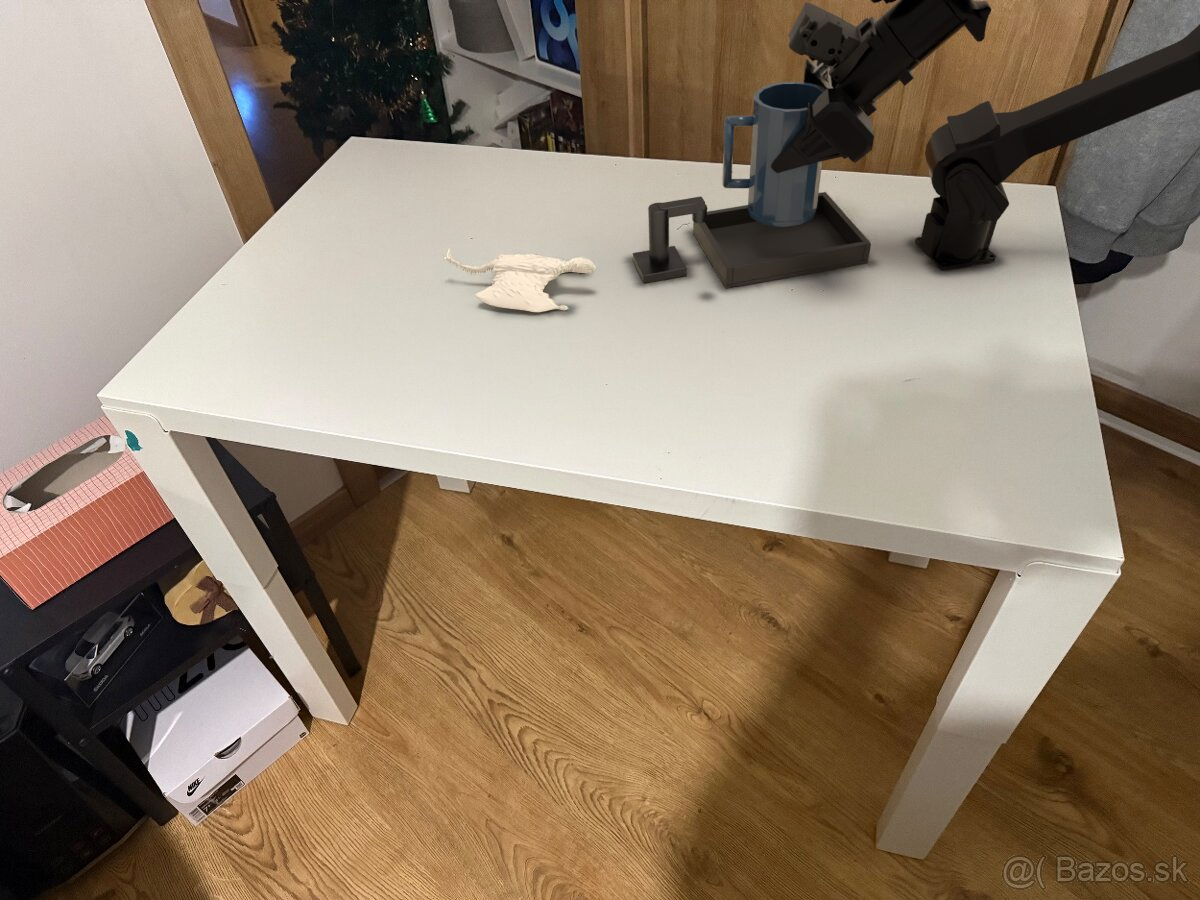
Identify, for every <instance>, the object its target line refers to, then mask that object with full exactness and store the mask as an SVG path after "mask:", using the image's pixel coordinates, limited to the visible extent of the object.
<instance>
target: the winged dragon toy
mask: <svg viewBox="0 0 1200 900" xmlns="http://www.w3.org/2000/svg"><path fill="white" fill-rule="evenodd" d="M440 256H441V257H442V258H444V259H445V260H446V261H447V262H449V264H451V263H452V266H453V267H456V268H458V267H459V269H460V270H461V269H462V271H465V272H466V273H469V274H470V275H473V274H474V275H480V274H486V272H488V271H491V272H493V271H494V276H493V277H492V280H491V285H490V286H487V288H485V289H483V290H481V291H479V292H476V293H475V297H476V298H477V299H479V300H480V301H482V302H483V303H485V304H487V305H489V306H492V307H496V308H497V307H498V308H504V309H510V310H511V309H512V310H521V311H527V312H531V313H541V312H547V311H551V310H552V311H553V310H561V311H568V310H569V309H570V308H569V307H568V306H566V305H565V304H563V303H562V304H560V305H559V306H558V305H557V304H556V302H555V300H554V299H552V298H550V295H549V293H547V292H543V291H544V289H545V287H546V285H548V284H549V282H550V281H552V280H555V279H557V278H558V277H559V276H560V275H561V274H563V273H569V272H572V273H577V274H591V273H593V272H594V271H595V270H596V268H597V267H596V266H595V264H594V262H592V260H591V259H588V258H587V257H580V256H576V257H572V258H571V259H569V260H562V259H559V258H558V257H551V256H542V255H539V254H531V253H527V254H518V253H514V254H502V253H501V254H498V255H497V256H499V257H498V258H495V259H492V260H491V261H489V262H487V263H485V264H484V265H481V266H471V265H467V264H464V263H461V262H459V261H457V260H455V259H453V258H452V254H451V253H450V246H449V248H448V250H447V252H446V253H445V255H443V254H441V253H440Z"/></svg>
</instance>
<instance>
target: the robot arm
mask: <svg viewBox="0 0 1200 900" xmlns="http://www.w3.org/2000/svg"><path fill="white" fill-rule="evenodd" d="M882 1H883V2H884V4H886V5H887V4H890V3H891V4H892V3H894V4H893V5H892V6H891V7H890V8H889V9H888V10H887V11H885V12H884V13H883V14H882V15H881V16H880V17H879V18H878V19H875V17H873V16H870V18H869V17H865V18H864V19H863V20H862V21H861V22H860V23H858V24H857V25H853V24H851V23H850V22H848V21H846V20H845V19H843V18H841V17H840V16H838V15H836V14H833V12H830V11H827V10H826V9H823V8H822V7H819V6H818V5H815V4H813V3H811V2H804V4H803V5H802V8H801V10H800V11H799V14H798V15H797V18H796V19H795V22H794V23H793V25H792V28H791V29H790V31H789V32H788V35H787V36H788V38H789V42H788V47H789V49H790V50H791V51H792V52H794V53H795V54H798V55H800V56H804V55H805V56H807V57H808V58H809V59H807V58H806V59H805V60H804V66H803V67H804V69H803V81H802V82H804V83H811V84H815V85H818V86H820V87H823V88H824V89H826V90H825V91H824V92H823V93H822V94H821V95H820V96H819V97H818V98H817V100H816V101H815V103H814V104H813V106H812V105H811V104H810V103H808V105H807V114H806V122H805V125H804V126H803V127H802V129H801V130H800V131H799V132H798V133H797V134H796V135H795V137H794V138H793V139H792V140H791V141H790V142H789V143H788V145H787V146H786V147H785V148H784V149H783V150H782V151H781V153H780V154H779V155H778V156H777V157H776V159H775V160H774V161H773V162H772V164H771V168H772V169H773V170H774V171H775V172H776V173H781V172H784V171H788V170H791V169H795V168H798V167H802V166H805V165H809V164H813V163H816V162H821V161H822V162H825V161H830V160H834V159H838V158H842V159H844V160H846V159H849V160H850V161H851V162H852V163H855V164H856V163H857V162H859V161H860V160H861V159H863V158H864V157H865V156H867V154H869V153H870V152H871V151H872V150H873V147H874V141H875V133H874V128H873V122H872V120H871V119H870V116H871V115H872V114H874V113H875V112H876V111H877V110H878V108H877V103H876V102H877V101H878V100H879V99H880V98H881V97H883V96H884V95H885V94H886V93H887V92H889V91H890V90H891V89H892V88H893V87H894V86H896V85H897V84H899V82H900V83H901V84H902V85H903V86H904V87H906V86H907V85H908V84H909V83H910V82H911V81H913V80H914V79H915V77H914V74H913V70H914V69H916V68H917V67H918V66H919V65H920V64H921V63H923V62H924V61H925V60H926V59H927V58H929V57H930V56H931V55H932V54H933V53H935V52H936V51H937V50H938V49H939V48H941V46H943V45H944V44H945V43H946V42H947V41H949V40H950V39H951V38H953V36H954V35H955V34H957V33H958V32H959V31H960V30H962V29H963V27H965V29H966V30H967V31H968V33H970V35H971V36H972V37H973V39H974V40H975V41H976V42H978V43H980V42H983V40H984V39H985V38H986V30H987V23H988V19H989V17H990V14H991V13H992V7H991V5H990V4H989V2H988V0H981V1H977V0H870V2H871V3H873V4H878V3H880V2H882ZM1198 91H1200V23H1199V24H1198V25H1197V26H1196V27H1194V29H1193V30H1191V31H1190V32H1189V33H1188V34H1187V35H1186V36H1185V37H1183V38H1182V39H1180V40H1178V41H1176V42H1174V43H1172V44H1170V45H1167V46H1164V47H1163V48H1161V49H1158V50H1155V51H1153V52H1151V53H1149V54H1146V55H1144V56H1141V57H1139V58H1137V59H1135V60H1132V61H1130V62H1127V63H1125V64H1123V65H1121V66H1118V67H1116V68H1113V69H1111V70H1109V71H1107V72H1103V73H1102V74H1100V75H1097V76H1095V77H1093V78H1090V79H1088V80H1085V81H1084V82H1081V83H1079V84H1076V85H1074V86H1071V87H1070V88H1069V87H1068V88H1067V89H1065V90H1063V91H1060V92H1057V93H1055V94H1053V95H1051V96H1049V97H1045V98H1044V99H1041V100H1039V101H1036V102H1035V103H1032V104H1030V105H1028V106H1024V107H1023V108H1020V109H1018V110H1015V111H1006V112H1005V111H1004V112H995V111H994V108H993V106H992V103H991V102H990V100H987V101H983V102H981V103H978V104H977V105H975V106H974V107H972V108H971V109H969V110H966V111H965V112H962V113H960V114H957V115H948V116H947V117H946V120H947V122H946V123H944V124H943V125H942V126H941V125H940V126H939V127H938V128H936V129H935V130H934V131H933V132H932V133H931V136H930V137H929V139H928V142H927V143H926V145H925V150H924V155H925V163H926V166H927V170H928V174H929V177H930V182H931V185H932V188H933V190H934V191H935V193H936V194H937V195H938V196H936V197H933V199H932V203H931V207H930V211H929V212H927V213H926V215H925V219H924V223H923V227H922V232H921V235H920V236H917V237H915V238H914V244H915V245H916V246H917V247H918V248H919V249H920V250H921V252H923V253H924V254H925V256H927V258H929V260H930V261H931V262H932V263H933V264H934V265H935V266H936V267H937V268H938V269H940V270H941V271H949V270H954V269H961V268H965V267H971V266H977V265H982V264H987V263H993V262H996V260H997V255H996V254H995V253H994V251H992V250H991V249H990V246H991V243H992V240H993V236H994V233H995V229H996V226H997V224H998V221H999V220H1000V218H1001V217H1002V215H1003V214H1004V213H1005V211H1006V210H1007V209H1008V207H1009V206H1010V201H1009V199H1008V195H1007V193H1006V191H1005V188H1004V185H1003V183H1004V182H1005V181H1006V180H1007V179H1008V178H1010V176H1012V175H1013V173H1015V172H1016V171H1017V170H1018V169H1019V168H1020V167H1021V166H1022V165H1024V164H1025V163H1026V162H1027V161H1028V160H1030V159H1031V158H1034V157H1035V156H1038V155H1040V154H1042V153H1045V152H1047V151H1051V150H1052V149H1055V148H1057V147H1060V146H1062V145H1065V144H1067V143H1071V142H1072V141H1075V140H1077V139H1080V138H1083V137H1085V136H1088V135H1090V134H1092V133H1095V132H1097V131H1100V130H1102V129H1103V130H1104V129H1105V128H1107V127H1110V126H1113V125H1116V124H1118V123H1120V122H1122V121H1125V120H1128V119H1130V118H1133V117H1135V116H1138V115H1140V114H1142V113H1144V112H1145V113H1146V112H1147V111H1150V110H1152V109H1155V108H1157V107H1159V106H1163V105H1165V104H1167V103H1170V102H1173V101H1174V100H1177V99H1179V98H1182V97H1185V96H1188V95H1190V94H1192V93H1195V92H1198Z"/></svg>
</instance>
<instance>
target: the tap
mask: <svg viewBox="0 0 1200 900" xmlns="http://www.w3.org/2000/svg"><path fill="white" fill-rule="evenodd" d="M647 211H648V213H647V214H648V217H647V218H648V245H649V246H648V250H642V251H635V252H633V253H632V261H633V264H634V266H635V268H636V270H637V272H638V275H639V276H640V278H641V281H642V283H643V284H646V283H653V282H659V281H663V280H664V281H665V280H669V279H670V280H671V279H676V278H681V277H687V275H688V267H687V266H686V264H685V262H684V260H683V258H682V256H681V255H680V253H679V251H678V250H677V247H676V246H675V245H671V246H670V218H671V219H672V218H677V217H682V216H688V215H691V220H692V222H695V223H703V222H705V221H706V220H707V212H708V205H707V204H706V201H705V199H704V198H703V196H695V197H694V196H693V197H688V198H683V199H677V200H676V199H675V200H670V201H664V202H653V203H651V204H650V205H649V206H648V208H647Z"/></svg>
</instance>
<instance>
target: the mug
mask: <svg viewBox="0 0 1200 900" xmlns="http://www.w3.org/2000/svg"><path fill="white" fill-rule="evenodd" d="M825 90H826V89H824V88H823V87H820V86H818V85H815V84H811V83H804V82H803V81H781V82H777V83H771V84H770V83H769V84H767V85H765V86H763V87H760V88H759V89H757V90H756V92H755V93H754V96H753V112H752V115H727V116H726V117H725V118H724V122H723V123H724V124H723V125H724V126H723V152H722V155H723V157H722V161H723V162H722V183H721V185H722V187H723V188H724V189H748V198H747V205H748V213H749V215H750V216H751V217H752V218H753V219H754V220H756V221H757V222H759V223H762V224H765V225H769V226H775V227H789V226H796V225H800V224H803V223H805V222H807V221H809V220H810V219H812V218H813V217H814V215H815V213H816V208H817V202H818V193H820V185H821V184H820V183H821V176H822V168H823V161H821V162H816V163H813V164H809V165H805V166H802V167H798V168H795V169H791V170H788V171H784V172H781V173H776V172H775V171H774V170H773V169H772V168H771V164H772V162H773V161H774V160H775V159H776V157H777V156H778V155H779V154H780V153H781V151H782V150H783V149H784V148H785V147H786V146H787V145H788V143H789V142H790V141H791V140H792V139H793V138H794V137H795V135H796V134H797V133H798V132H799V131H800V130H801V129H802V127H803V126H804V125H805V122H806V114H807V105H808V103H810V104H811V105H812V106H813V104H814V103H815V101H816V100H817V98H818V97H819V96H820V95H821V94H822V93H823V92H824V91H825ZM735 127H752V129H751V147H750V162H749V165H750V166H749V178H733V161H734V139H735V138H734V136H735V135H734V134H735Z"/></svg>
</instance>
